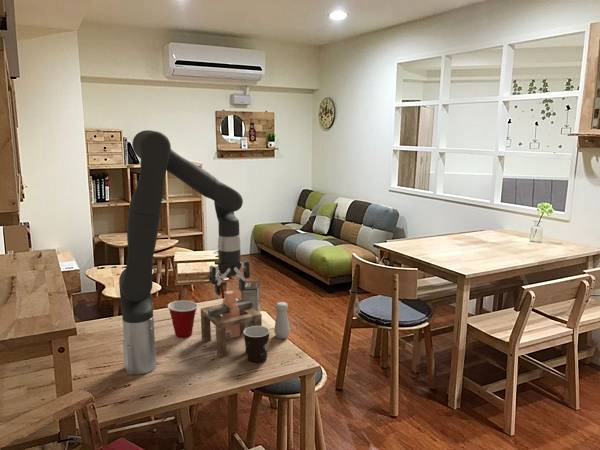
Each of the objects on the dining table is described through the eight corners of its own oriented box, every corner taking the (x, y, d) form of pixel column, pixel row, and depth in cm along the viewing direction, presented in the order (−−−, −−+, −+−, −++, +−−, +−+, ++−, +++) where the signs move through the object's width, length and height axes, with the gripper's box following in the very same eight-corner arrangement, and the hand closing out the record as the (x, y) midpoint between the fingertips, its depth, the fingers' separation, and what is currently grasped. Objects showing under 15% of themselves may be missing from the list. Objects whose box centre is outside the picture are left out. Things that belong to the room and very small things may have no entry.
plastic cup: (204, 336, 182) (202, 306, 179) (175, 344, 176) (173, 312, 173) (192, 326, 190) (191, 296, 188) (165, 333, 184) (163, 302, 182)
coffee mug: (258, 350, 171) (258, 323, 169) (275, 359, 165) (275, 331, 163) (231, 362, 163) (230, 333, 161) (247, 371, 157) (247, 342, 155)
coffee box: (244, 318, 198) (244, 280, 194) (260, 318, 198) (260, 280, 194) (241, 328, 189) (240, 288, 185) (258, 328, 189) (258, 288, 185)
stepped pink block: (232, 337, 172) (231, 296, 169) (222, 329, 179) (221, 289, 175) (239, 335, 174) (239, 295, 170) (230, 327, 180) (229, 288, 177)
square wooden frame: (219, 357, 166) (218, 318, 163) (201, 339, 179) (200, 303, 176) (261, 346, 175) (261, 308, 172) (241, 329, 188) (241, 294, 185)
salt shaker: (281, 331, 186) (281, 299, 184) (293, 336, 183) (293, 302, 180) (270, 336, 182) (270, 303, 179) (282, 341, 178) (282, 307, 176)
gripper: (214, 253, 163) (215, 299, 166) (253, 247, 170) (253, 292, 174) (205, 247, 169) (206, 292, 172) (243, 242, 176) (243, 285, 180)
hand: (230, 292), depth 173 cm, fingers open, 8 cm apart
